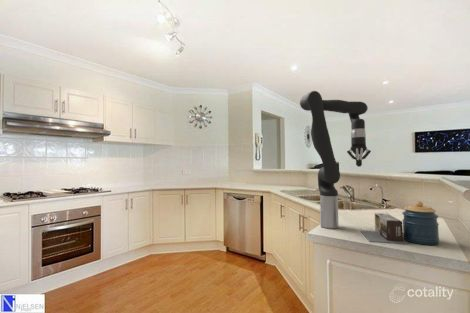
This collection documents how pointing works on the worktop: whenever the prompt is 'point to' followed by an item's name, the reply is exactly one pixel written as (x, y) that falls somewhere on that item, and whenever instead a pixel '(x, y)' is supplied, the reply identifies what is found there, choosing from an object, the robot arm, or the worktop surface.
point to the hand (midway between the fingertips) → (359, 166)
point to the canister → (420, 224)
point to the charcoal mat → (379, 237)
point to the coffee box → (388, 227)
